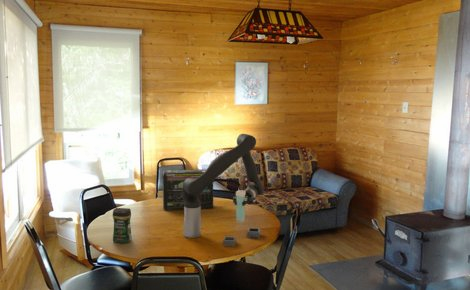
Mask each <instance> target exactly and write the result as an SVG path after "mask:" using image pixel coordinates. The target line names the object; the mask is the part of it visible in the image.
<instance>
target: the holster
mask: <svg viewBox="0 0 470 290" xmlns="http://www.w3.org/2000/svg"><path fill="white" fill-rule="evenodd" d="M236 243H237V237H236V236H225V235H224V237H223V239H222V247H233V248H234V247H235V246H236Z"/></svg>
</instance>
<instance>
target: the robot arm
mask: <svg viewBox="0 0 470 290" xmlns="http://www.w3.org/2000/svg"><path fill="white" fill-rule="evenodd" d="M236 144H237V145H236V146H235V147H233V148H232V149H229V150H227V151H224V152H223V153H220V154H219V155H218V156H216V157H215V158H214V159H213V160H212V161H210V163H209V164H208V166H207V168H206V169H207V170H206V171H205V172H204V173H203V174H202V175H201V176H200V177H198V178H197V179H194V178H188V179H186V180H185V181H184V183H183V201H184V210H183V211H184V212H183V213H184V217H183V218H184V219H183V221H182V222H183V229H182V230H183V233H182V234H183V237H186V238H190V239H192V238H193V239H195V238H196V239H197V238H199V237H201V226H202V225H201V223H202V222H201V219H202V218H201V216H202V215H201V210H202V209H201V202H200V200H199V198H198V195H199V194H200V193H201V192H202V191H203V190H204V189H205V188H206V187H207V186H208V185H209V184H210V183H211V182H212V181H213V182H214V181H215V180H216V179H217V178H218V177H220V176H221V175H222V174H223V173H224V172H225V171H226V170H228V169H229V168H230V167H231V166H233V165H234V164H235V163H236V162H237V161H238V160H239V159H242V162H243V166H244V169H245V173H246V179H247V181H248V182H249V184H247V185H246V186H247V187H246V189H244V190H245V200H244V201H243V202H242V206H244V205H245V206H247V205H252V204H255V203H256V197H257V196H261V195H264V191H265V189H264V184H263V183H262V181H261V180H260V177H259V174H258V168H257V165H256V162H255V160H254V159H253V157H252V154H251V151H252V150H254V148H255V147H256V145H257V138H256V137H255V136H254V135H251V134H247V133H241V134H239V135H238V136H237V138H236ZM232 202H233V204H234V206H237V196H236V195H233V196H232Z"/></svg>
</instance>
